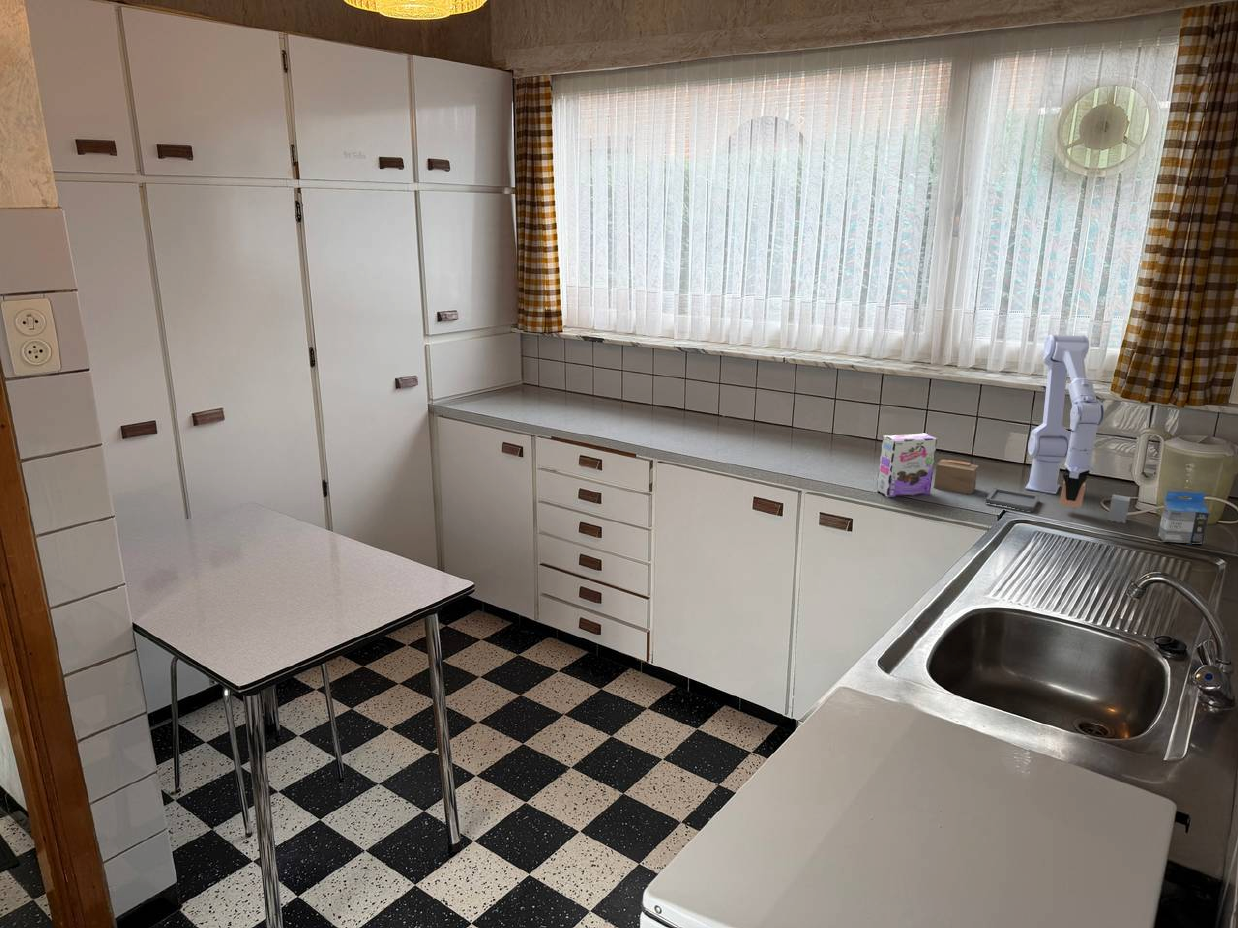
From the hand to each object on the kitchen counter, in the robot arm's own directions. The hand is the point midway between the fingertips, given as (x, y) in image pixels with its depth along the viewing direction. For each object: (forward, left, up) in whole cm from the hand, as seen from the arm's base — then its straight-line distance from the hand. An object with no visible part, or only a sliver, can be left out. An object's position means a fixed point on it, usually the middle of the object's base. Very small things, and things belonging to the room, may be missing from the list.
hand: (1071, 497), depth 229 cm
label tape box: (+7, +25, -4) cm, 26 cm away
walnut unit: (-4, -30, -4) cm, 31 cm away
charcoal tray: (0, -14, -4) cm, 15 cm away
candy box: (+9, -41, -4) cm, 42 cm away
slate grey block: (-2, +11, -4) cm, 12 cm away
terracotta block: (0, 0, -2) cm, 2 cm away
